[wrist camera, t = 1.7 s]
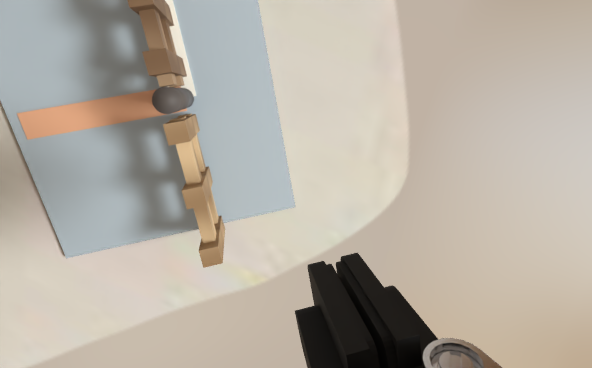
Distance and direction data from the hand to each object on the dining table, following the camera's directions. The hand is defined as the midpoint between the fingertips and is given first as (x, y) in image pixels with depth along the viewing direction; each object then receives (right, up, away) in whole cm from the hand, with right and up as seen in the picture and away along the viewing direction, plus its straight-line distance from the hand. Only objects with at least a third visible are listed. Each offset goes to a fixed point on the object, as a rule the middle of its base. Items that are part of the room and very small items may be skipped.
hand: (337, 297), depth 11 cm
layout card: (-12, +9, +13) cm, 20 cm away
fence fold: (-8, +4, +14) cm, 17 cm away
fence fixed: (-10, +14, +12) cm, 21 cm away
